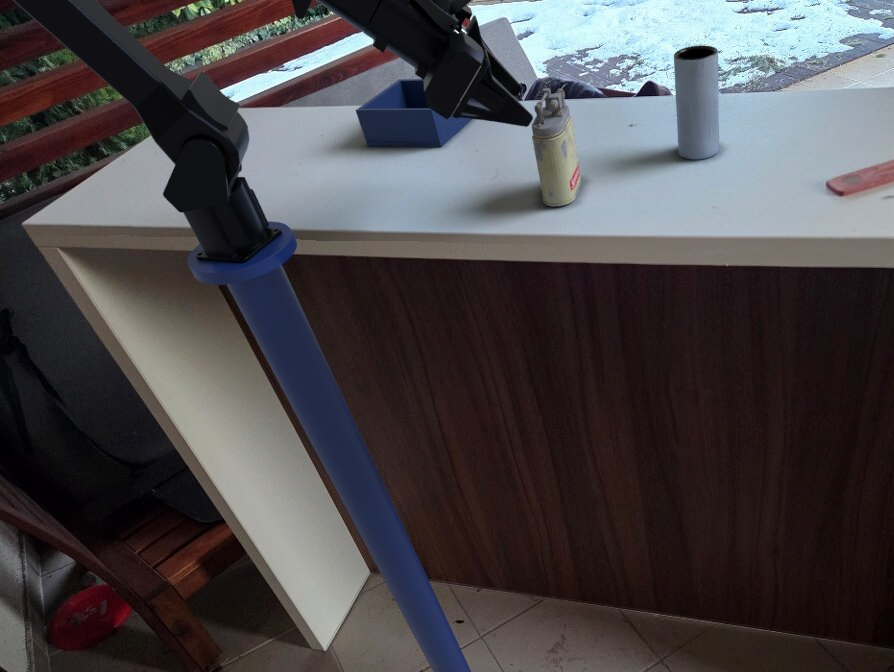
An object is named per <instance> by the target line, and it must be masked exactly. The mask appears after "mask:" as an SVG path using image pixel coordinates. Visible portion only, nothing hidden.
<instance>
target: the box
mask: <svg viewBox="0 0 894 672" xmlns="http://www.w3.org/2000/svg"><path fill="white" fill-rule="evenodd" d="M355 114H356V116H357V119H358V122H359V125H360V128H361V131H362V134H363V138H364V140H365V143H366V146H367V147H401V148H402V147H404V148H405V147H409V148H410V147H411V148H412V147H413V148H415V147H416V148H418V147H420V148H421V147H422V148H442V147H443V146H444V145H446V143H448V142H449V141H450V140H451V139H452V138H453V137H455V135H457V134H458V133H459V132H460V131H461V130H462V129H463V128H465V127H466V126H467V125H468V124H469V123H470V122H472V121H473V119H469V118H460V117H459V118H458V119H455V118H452V117H450V118H449V119H448V120H447V119H445V118H444V117H442V116H441V115H439V114H437V113H436V112H434V111H433V110H431V109H430V108H428V104H427V100H426V97H425V93H424V81H423V79H421V78H403V79H401V78H400V79H398V80H396V81H394V83H392V84H390V85H389V86H388V87H387V88H385V89H384V90H382V91H381V92H379V93H378V94H377V95H375V96H373V97H371V99H370V100H368V101H366V102H365V103H364V104H362V105H361V106H359V107H358V108H356V109H355Z"/></svg>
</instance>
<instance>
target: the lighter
mask: <svg viewBox="0 0 894 672" xmlns="http://www.w3.org/2000/svg"><path fill="white" fill-rule="evenodd" d="M542 94H543V95H542V97H541V99H540V101H537V102H536V104H535V105H534V106H533V109H534V112H535V114H536V116H535V117H534V119H533V121H532V122H531V130H532V131H531V132H532V136H531V138H532V145H533V150H534V155H535V159H536V160H535V161H536V167H537V172H538V177H539V183H540V188H541V194H542V202H543V204H544V205H546V206H549V207H562V206H566V205H569V204H570V203H573V202H574V201H575V200H576V197H577V195H578V192H579V190H580V187H581V185H582V182H583V181H582V178H581V172H580V165H579V158H578V151H577V145H576V137H575V129H574V124H573V123H574V122H573V118H572V116H571V114H570V108H569V106H568V105H567V104H566V101H565V98H566V94H565V89H563V88H557V89H556V91H555V92H554V93H552V91H551V88H549V87H545V88H543V89H542ZM544 102H545V103H544ZM543 103H544V104H543ZM543 105H545V106H543Z"/></svg>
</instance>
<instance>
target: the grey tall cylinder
mask: <svg viewBox="0 0 894 672" xmlns="http://www.w3.org/2000/svg"><path fill="white" fill-rule="evenodd" d="M673 68H674V70H673V71H674V87H675V88H674V90H675V108H676V109H675V110H676V111H675V112H676V127H677V130H676V131H677V148H678V149H677V150H678V154H679V156H680V157H681V158H684V159H687V160H704V159H708V158H711V157H714V156H715V155H716V154H718V153H719V151H720V98H719V96H720V95H719V93H720V92H719V88H720V87H719V50H718V49H717V48H716V47H715V46H711V45H692V46H687V47H683V48H680V49H678V50H677V51H676V52H674V54H673Z"/></svg>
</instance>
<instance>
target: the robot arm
mask: <svg viewBox="0 0 894 672" xmlns="http://www.w3.org/2000/svg"><path fill="white" fill-rule="evenodd" d="M472 1H473V0H315V2H317V3H318V4H320V5H321V6H323V7H325V8H326V9H327V10H329V11H330V12H332V13H333V14H335V15H336V16H337V17H339V18H341V19H342V20H343V21H345V22H346V23H348V24H349V25H351V26H352V27H354V28H355V29H357V30H358V31H360V32H362V33H363V34H364V35H365V36H367V37H369V38H371V39H372V40H373V42H372V47H374V48H375V49H377V50H378V51H380V52H381V53H383V54H384V53H385V50H388V51H389V52H391V53H392V54H394V55H395V56H397V58H400V59H401V60H402V61H404V62H405V63H407V64H408V65H410V66H411V67H413V68H414V75H415V76H417V77H418V78H419V79H423V81H424V93H425V97H426V100H427V104H428V108H430V109H431V110H433V111H434V112H436V113H437V114H439V115H441V116H442V117H444V118H445V119H447V120H448V119H449V118H450V117H452V118H455V119H458V118H459V117H460V118H469V119H472V120H479V121H486V122H492V123H500V124H507V125H512V126H518V127H524V128H528V127H529V126H530V125H531V124H532V122H533V121H534V117H533V114H532V113H531V112H530V111H529V110H528V109H527V108H526V107H525V106H524V105H523V104H522V103H521V102H520V101H519V100H518V99H517V98H516V97H518V96H519V94H520V93H521V91H522V90H523V87H522V85H521V84H520V83H519V81H518V80H517V79H516V78H515V77H514V76H513V75H512V74H511V72H509V70H508V69H507V68H506V67H505V66H504V65H503V64H502V62H501V61H500V60H499V59H498V58H497V57H496V56H495V55H494V53H492V51H491V49H490V48H489V47H487V45H486V44H485V43H484V41H483V39H482V34H481V30H480V25H479V21H478V18H477V16H476V15H475V14H474V15H473V10H472V8H471V7H470V6H469V5H468V4H469V3H471V2H472ZM12 2H14V4H15V5H17V6H18V7H20V8H21V9H22V10H23V11H24V12H25V13H26V14H27V15H29V16H30V17H31V18H32V19H33V20H34V21H35V22H36V23H38V24H39V25H40V26H41V27H42V28H43V29H45V31H47V32H48V33H49V34H50V35H51V36H52V37H54V38H55V39H56V40H57V41H58V42H59V43H60V44H62V45H63V46H64V47H65V48H66V49H67V50H69V52H71V53H72V54H73V55H74V56H75V57H77V59H79V61H81V62H82V63H84V64H85V66H86V67H88V68H90V70H91V71H92V72H94V73H95V75H97V76H98V77H99V78H100V79H102V80H103V82H105V83H106V84H107V85H108V86H109V87H111V89H113V90H114V91H115V92H116V93H117V94H119V95H120V96H121V97H122V98H123V99H124V100H126V102H128V103H129V104H130V105H131V106H132V108H133V109H134V110H135V111H136V113H137V114H138V116H139V118H140V119H141V121H142V123H143V124H144V126H145V128H146V130H147V131H148V133H149V134H150V136H151V138H152V140H153V142H154V143H155V144H156V145H157V146H158V147H159V149H160V150H161V151H162V152H163V153H164V154H165V155H166V156H167V157H168V159H170V161H171V162H172V163H173V164H174V167H173V169H172V170H171V173H170V176H169V178H168V180H167V183H166V185H165V187H164V190H163V192H162V196H163V197H164V199H165V200H166V201H167V202H168V203H169V204H170V205H171V206H172V207H174V208H175V209H176V211H178V212H179V213H183V215H184V216H185V218H186V220H187V222H188V224H189V226H190V228H191V229H192V231H193V233H194V235H195V237H196V239H197V241H198V243H199V244H200V245H201V246H202V248H203V250H201V251H200V252H199V253H197V254H196V255H195V257H196V258H197V260H201V261H214V262H227V263H241V264H242V263H246V262H248V261H249V260H250V259H251V258H253V257H254V256H255V255H256V254H258V253H259V252H260V251H261V250H263V249H264V248H265V247H266V246H268V245H269V244H270V243H271V242H272V241H274V240H275V239H276V238H277V237H279V236H280V235H281V234H282V232H281V229H279V228H268V226H269V223H268V219H267V216H266V215H265V212H264V210H263V208H262V206H261V204H260V201H259V199H258V197H257V195H256V193H255V190H254V189H252V188H251V187H250V186H249V183H248V181H247V179H246V177H245V176H239V174H240V173H241V172H242V170H243V160H244V158H245V156H246V153H247V150H248V148H249V143H250V132H249V126H248V124H247V122H246V120H245V119H244V117H243V116H242V115H241V114H240V113H239V109H240V107H241V105H240V103H238V102H236V101H234V100H233V99H231V98H229V97H228V96H227V95H225V94H224V93H223V92H222V91H221V90H220V89H219V88H218V86H217V85H216V84H215V82H214V81H213V80H212V79H211V77H210V76H208V75H207V73H205V72H204V71H200V72H199V73H198V74H197V76H196V77H195V79H194V80H191V79H189V78H187V77H185V76H183V75H181V74H180V73H177V72H175V71H173V70H172V69H170V68H169V67H167V66H166V65H165V64H164V63H163V62H162V61H161V60H160V59H158V58H157V57H156V56H155V54H153V52H151V51H150V50H149V49H148V48H147V47H145V45H144V44H142V43H141V41H140V40H138V39H137V38H136V37H135V36H134V35H133V34H132V33H131V32H130V31H129V30H128V29H127V28H126V27H125V26H124V25H123V24H122V23H120V22H119V21H118V20H117V19H116V18H115V17H114V16H113V15H112V14H111V13H109V12H108V11H107V10H106V9H105V8H104V6H102V5H101V4H100V3H99V2H98V1H97V0H12ZM290 2H291V4H292V7H293V11H294V15H295V18H297V20H303V19H305V18H306V15H307V13H308V11H309V8H310V6H311V4H312V2H313V0H291V1H290ZM465 20H470V21H469V23H468V24H467V26H465V25H464V22H465Z"/></svg>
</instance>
